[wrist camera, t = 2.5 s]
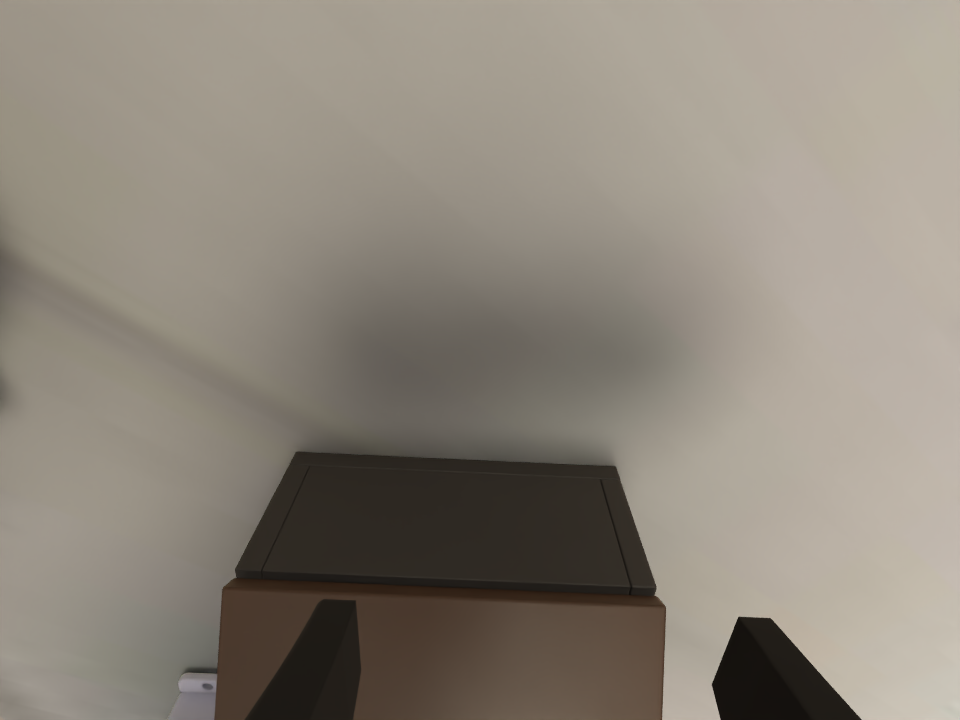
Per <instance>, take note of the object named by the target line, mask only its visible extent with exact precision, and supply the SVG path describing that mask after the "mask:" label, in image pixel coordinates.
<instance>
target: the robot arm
mask: <svg viewBox="0 0 960 720" xmlns="http://www.w3.org/2000/svg"><path fill="white" fill-rule="evenodd" d="M360 675H361V659H360V646H359V633H358V621H357V608H356V600H335V599H323V600H321V601H320V602H319V603H318V604H317V605H316V607H315V609H314V611H313V613H312V615H311V616H310V618H309V620H308V622H307V623H306V625H305V627H304V629H303V630H302V632H301V634H300V635H299V637H298V639H297V640H296V642H295V644H294V645H293V647H292V649H291V650H290V652H289V653H288V655H287V657H286V658H285V660H284V661H283V663H282V664H281V666H280V668H279V669H278V671H277V672H276V674H275V675H274V677H273V678H272V680H271V681H270V683H269V684H268V686H267V687H266V689H265V690H264V692H263V693H262V695H261V696H260V698H259V699H258V701H257V702H256V704H255V705H254V707H253V708H252V710H251V711H250V712H249V714H248V715H247V717H246V718H245V720H353V717H354V711H355V705H356V699H357V693H358V687H359V681H360ZM216 684H217V674H215V673H190V672H189V673H184V674H182V676H181V677H180V679H179V681H178V686H179V689H180V692H181V693H180V694H179V696H178V698H177V700H176V702H175V704H174V706H173V708H172V710H171V712H170V714H169V716H168V718H167V720H214V716H215V700H216ZM712 687H713V691H714V695H715V699H716V703H717V707H718V710H719V714H720V718H721V720H861V718H860V717H859V716H858V715H857V714H856V713H855V712H854V711H853V710H852V709H851V708H850V706H849V705H848V704H847V703H846V702H845V701H844V700H843V699H842V698H841V697H840V695H839V694H838V693H837V692H836V691H835V690H834V689H833V688H832V686H831V685H830V684H829V683H828V682H827V681H826V680H825V679H824V678H823V676H822V675H821V674H820V673H819V672H818V671H817V670H816V669H815V667H814V666H813V665H812V664H811V663H810V662H809V661H808V660H807V658H806V657H805V656H804V655H803V654H802V653H801V652H800V651H799V649H798V648H797V647H796V646H795V645H794V644H793V643H792V642H791V640H790V639H789V638H788V637H787V636H786V635H785V634H784V633H783V631H782V630H781V629H780V628H779V627H778V626H777V625H776V624H775V623H774V621H773V620H772V619H771V618H753V617H738V619H737V622H736V624H735V627H734V630H733V632H732V635H731V637H730V640H729V642H728V645H727V647H726V650H725V653H724V655H723V658H722V660H721V663H720V665H719V668H718V670H717V673H716V675H715V678H714V681H713V683H712Z"/></svg>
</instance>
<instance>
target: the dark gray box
mask: <svg viewBox="0 0 960 720" xmlns="http://www.w3.org/2000/svg"><path fill="white" fill-rule="evenodd" d="M235 572H236V577H237V578H242V579H266V580H289V581H313V582H336V583H359V584H383V585H406V586H430V587H453V588H476V589H500V590H523V591H547V592H570V593H593V594H617V595H640V596H654V595H655V592H656V584H655V581H654V578H653V576H652V573H651V570H650V567H649V564H648V561H647V558H646V555H645V552H644V549H643V546H642V543H641V540H640V537H639V534H638V531H637V528H636V525H635V523H634V520H633V517H632V514H631V511H630V508H629V505H628V502H627V499H626V496H625V493H624V490H623V487H622V484H621V481H620V477H619V474H618V472H617V469H616V467H611V466H589V465H567V464H545V463H523V462H501V461H479V460H457V459H435V458H414V457H392V456H370V455H348V454H326V453H304V452H296V453H295V455H294V457H293V459H292V461H291V463H290V465H289V467H288V469H287V470H286V472H285V474H284V476H283V478H282V480H281V482H280V484H279V486H278V488H277V490H276V492H275V494H274V495H273V497H272V499H271V501H270V503H269V505H268V507H267V509H266V511H265V513H264V515H263V517H262V519H261V520H260V522H259V524H258V526H257V528H256V530H255V532H254V534H253V536H252V538H251V540H250V542H249V544H248V545H247V547H246V549H245V551H244V553H243V555H242V557H241V559H240V561H239V563H238V565H237V567H236V569H235Z"/></svg>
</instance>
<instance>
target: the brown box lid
mask: <svg viewBox="0 0 960 720" xmlns="http://www.w3.org/2000/svg"><path fill="white" fill-rule="evenodd" d="M323 599H335V600H356V608H357V621H358V633H359V646H360V659H361V675H360V681H359V687H358V693H357V699H356V705H355V711H354V717H353V720H662V705H663V677H664V650H665V622H666V607H665V605H664V604H663V603H662V602H661V600H660V599H659V598H658V597H656V596H640V595H617V594H593V593H570V592H547V591H523V590H500V589H476V588H453V587H430V586H406V585H383V584H359V583H336V582H313V581H289V580H266V579H242V578H235V579H233V580H231V581H230V582H229V583H228V584H227V585H226V586H224V587H223V589H222V603H221V620H220V636H219V652H218V668H217V684H216V700H215V716H214V720H245V718H246V717H247V715H248V714H249V712H250V711H251V710H252V708H253V707H254V705H255V704H256V702H257V701H258V699H259V698H260V696H261V695H262V693H263V692H264V690H265V689H266V687H267V686H268V684H269V683H270V681H271V680H272V678H273V677H274V675H275V674H276V672H277V671H278V669H279V668H280V666H281V664H282V663H283V661H284V660H285V658H286V657H287V655H288V653H289V652H290V650H291V649H292V647H293V645H294V644H295V642H296V640H297V639H298V637H299V635H300V634H301V632H302V630H303V629H304V627H305V625H306V623H307V622H308V620H309V618H310V616H311V615H312V613H313V611H314V609H315V607H316V605H317V604H318V603H319V602H320V601H321V600H323Z"/></svg>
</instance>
